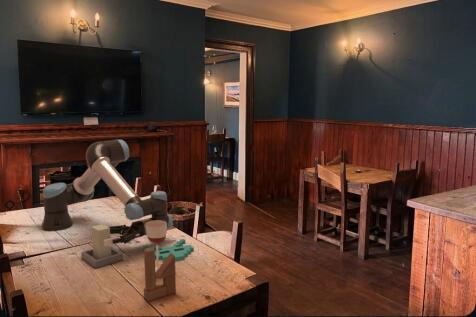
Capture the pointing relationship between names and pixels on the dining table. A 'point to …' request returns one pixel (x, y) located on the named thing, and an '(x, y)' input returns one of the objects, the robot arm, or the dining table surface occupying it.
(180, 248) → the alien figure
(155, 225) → the wineglass
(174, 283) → the wooden braced frame
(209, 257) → the dining table surface
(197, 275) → the dining table surface
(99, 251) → the tan rectangular block
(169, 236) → the dining table surface
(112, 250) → the grey tray
